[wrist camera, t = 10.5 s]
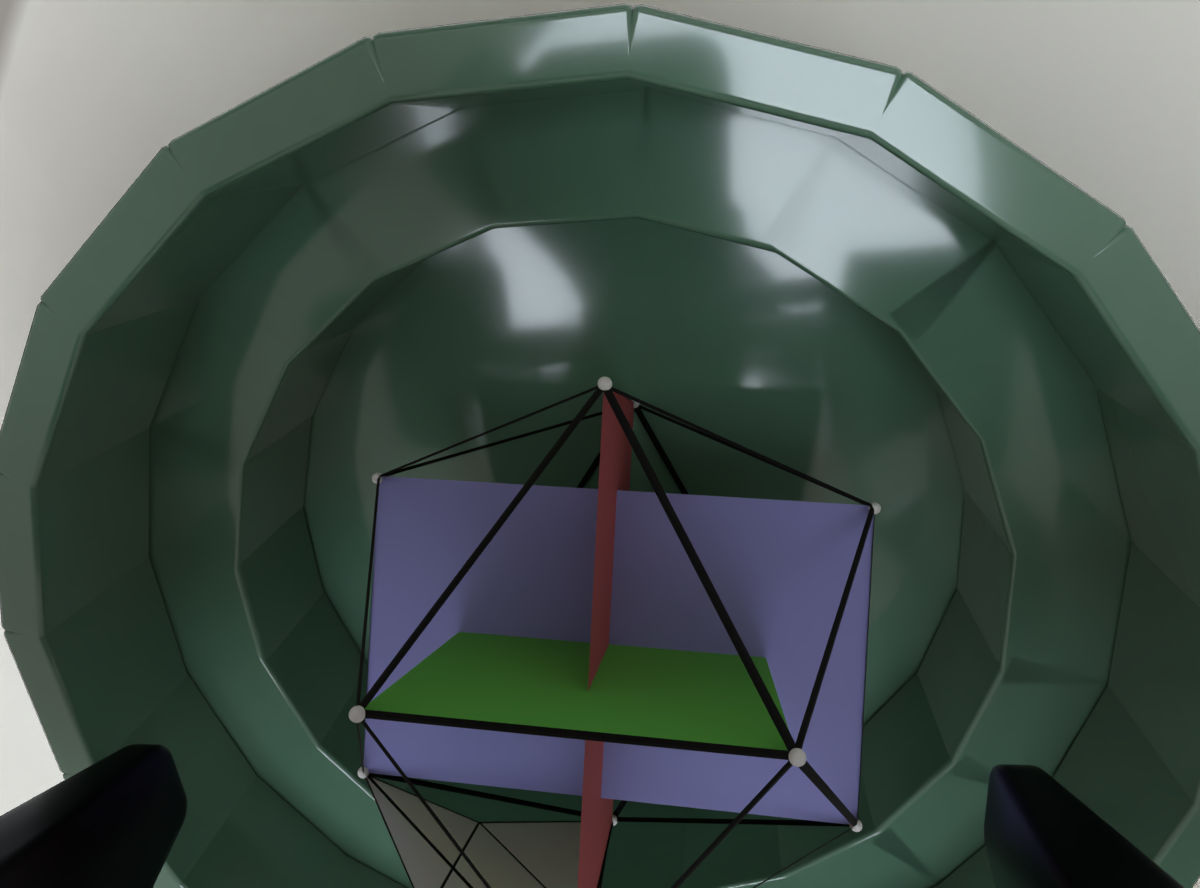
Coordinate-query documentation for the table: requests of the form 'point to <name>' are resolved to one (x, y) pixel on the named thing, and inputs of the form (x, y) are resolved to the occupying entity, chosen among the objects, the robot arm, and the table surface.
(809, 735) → the geometric puzzle
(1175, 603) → the bowl
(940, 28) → the table surface
